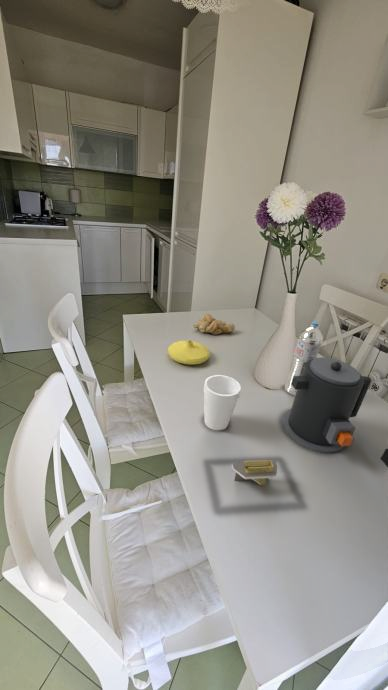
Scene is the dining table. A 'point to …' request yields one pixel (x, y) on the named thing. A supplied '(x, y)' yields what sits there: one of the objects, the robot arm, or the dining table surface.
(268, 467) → the platform
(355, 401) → the kettle
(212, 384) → the foam cup
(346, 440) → the kettle switch
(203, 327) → the ginger root
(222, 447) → the dining table surface
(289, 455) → the dining table surface
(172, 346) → the yellow knobbed round disc
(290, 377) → the water bottle
